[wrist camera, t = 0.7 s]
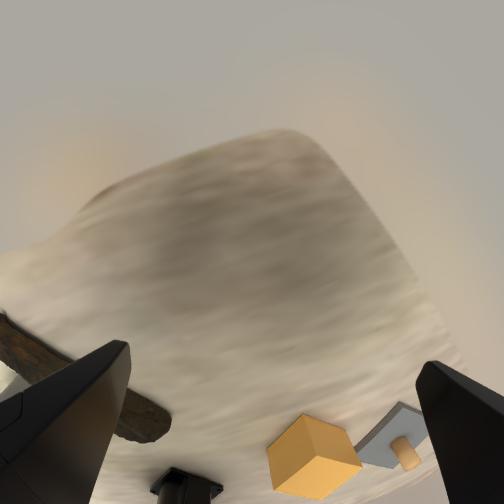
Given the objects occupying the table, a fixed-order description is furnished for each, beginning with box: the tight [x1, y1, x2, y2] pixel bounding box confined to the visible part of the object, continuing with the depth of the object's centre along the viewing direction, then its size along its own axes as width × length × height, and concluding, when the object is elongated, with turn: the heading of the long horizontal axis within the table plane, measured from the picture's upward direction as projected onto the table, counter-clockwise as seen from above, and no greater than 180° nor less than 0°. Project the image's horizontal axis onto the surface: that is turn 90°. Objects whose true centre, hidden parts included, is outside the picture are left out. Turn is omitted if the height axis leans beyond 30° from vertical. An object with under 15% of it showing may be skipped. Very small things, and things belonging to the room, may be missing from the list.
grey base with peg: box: [354, 402, 429, 471], centre depth 24 cm, size 8×8×5 cm
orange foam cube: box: [267, 414, 363, 500], centre depth 23 cm, size 6×6×6 cm
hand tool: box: [0, 313, 172, 443], centre depth 20 cm, size 19×4×5 cm, turn 63°
